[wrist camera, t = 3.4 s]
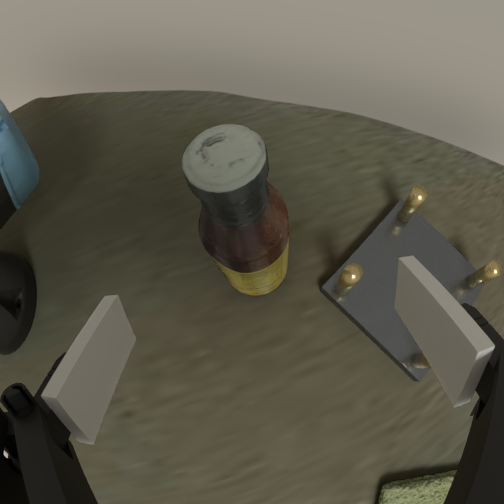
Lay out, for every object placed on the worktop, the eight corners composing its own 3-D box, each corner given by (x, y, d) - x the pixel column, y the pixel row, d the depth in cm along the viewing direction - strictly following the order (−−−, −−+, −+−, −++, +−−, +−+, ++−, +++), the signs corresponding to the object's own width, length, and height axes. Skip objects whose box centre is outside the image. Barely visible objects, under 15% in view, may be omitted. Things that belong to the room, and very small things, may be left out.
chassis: (319, 290, 31) (328, 272, 25) (397, 205, 33) (415, 174, 27) (413, 380, 26) (442, 382, 20) (479, 283, 29) (510, 266, 23)
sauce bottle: (229, 241, 34) (172, 105, 15) (287, 241, 33) (287, 96, 15) (225, 301, 32) (145, 209, 13) (287, 302, 31) (292, 205, 12)
